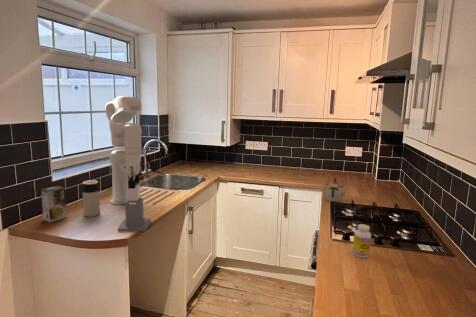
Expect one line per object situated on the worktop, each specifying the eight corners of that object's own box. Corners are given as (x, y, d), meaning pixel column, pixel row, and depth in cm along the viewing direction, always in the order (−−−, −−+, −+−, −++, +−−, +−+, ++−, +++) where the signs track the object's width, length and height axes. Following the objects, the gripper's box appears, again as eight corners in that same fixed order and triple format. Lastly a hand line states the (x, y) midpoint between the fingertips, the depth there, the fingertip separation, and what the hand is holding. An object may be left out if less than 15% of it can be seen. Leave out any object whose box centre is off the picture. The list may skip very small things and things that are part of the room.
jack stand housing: (124, 221, 162) (123, 196, 160) (150, 221, 164) (150, 196, 161) (117, 231, 149) (116, 204, 147) (146, 231, 151) (145, 204, 148)
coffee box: (60, 214, 168) (58, 185, 165) (67, 217, 165) (65, 187, 162) (42, 219, 160) (40, 189, 157) (49, 222, 157) (47, 191, 154)
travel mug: (100, 215, 169) (99, 183, 165) (84, 217, 165) (82, 184, 162) (99, 211, 176) (97, 179, 172) (83, 212, 172) (81, 180, 169)
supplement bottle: (358, 259, 131) (361, 229, 129) (348, 251, 137) (351, 223, 135) (372, 257, 133) (375, 228, 130) (362, 250, 139) (365, 222, 137)
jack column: (131, 221, 158) (130, 182, 155) (140, 221, 159) (139, 182, 155) (128, 224, 154) (127, 185, 150) (138, 224, 154) (137, 185, 151)
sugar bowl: (323, 194, 222) (325, 174, 220) (346, 197, 217) (348, 176, 214) (319, 202, 204) (321, 180, 202) (343, 206, 199) (346, 183, 196)
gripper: (129, 148, 158) (130, 181, 161) (120, 153, 141) (121, 190, 144) (144, 148, 159) (145, 181, 161) (137, 153, 142) (138, 190, 144)
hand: (134, 185), depth 152 cm, fingers open, 9 cm apart
